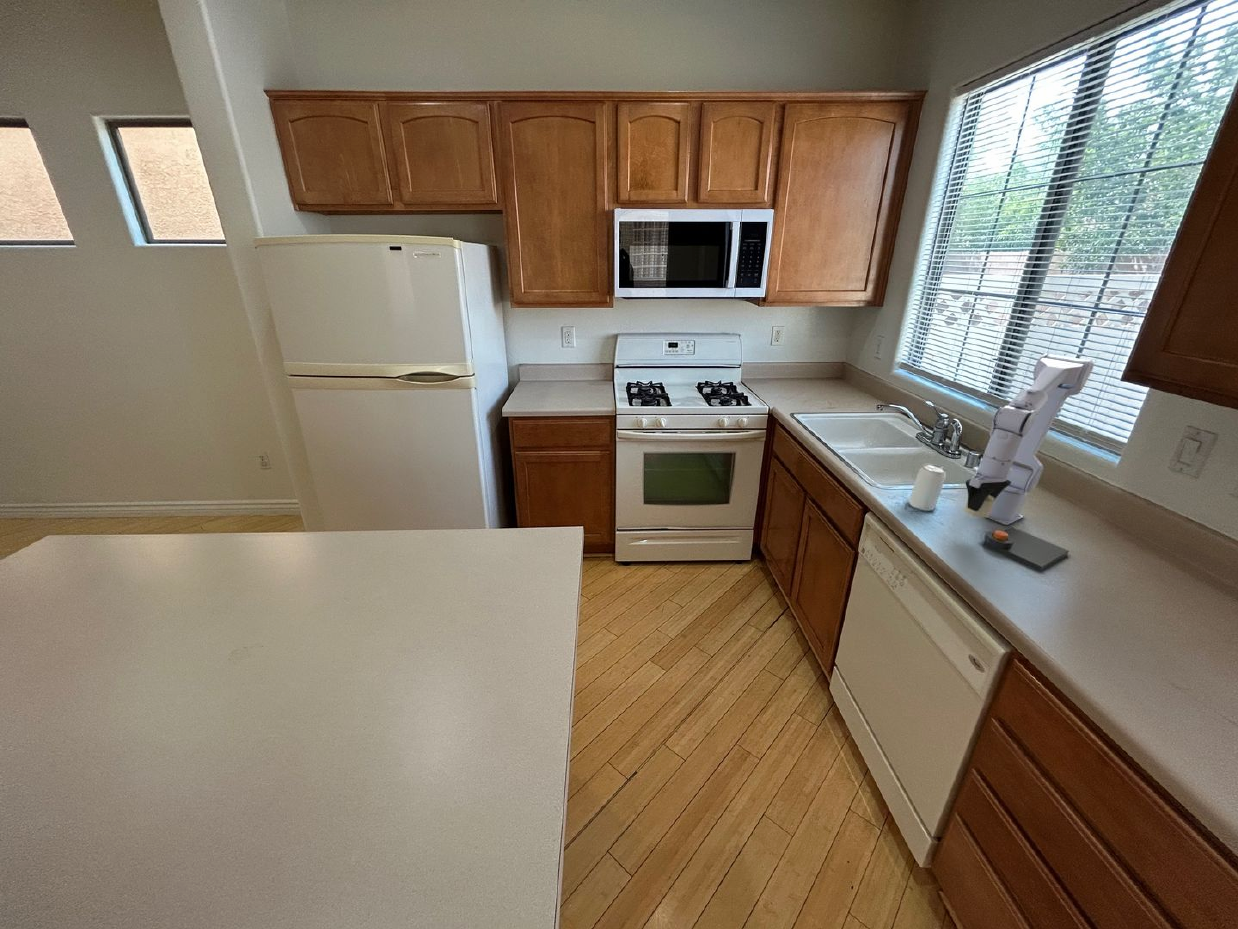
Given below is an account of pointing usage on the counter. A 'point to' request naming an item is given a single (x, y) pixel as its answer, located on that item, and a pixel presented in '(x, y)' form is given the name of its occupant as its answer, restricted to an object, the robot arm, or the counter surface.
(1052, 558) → the scale
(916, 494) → the can
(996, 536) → the tare button
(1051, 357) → the robot arm
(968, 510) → the bowl
